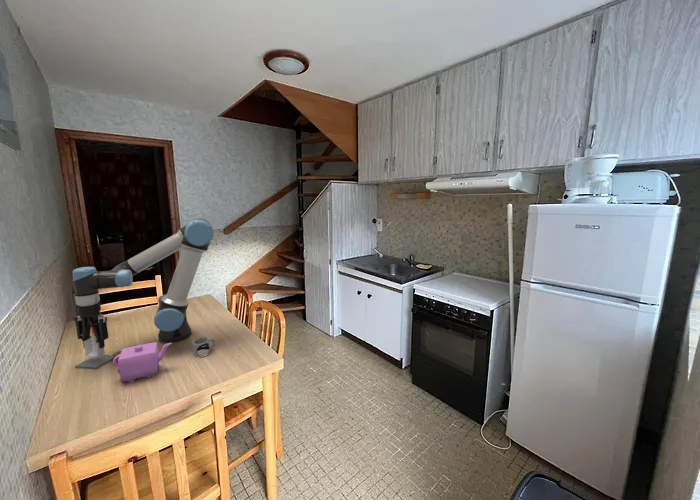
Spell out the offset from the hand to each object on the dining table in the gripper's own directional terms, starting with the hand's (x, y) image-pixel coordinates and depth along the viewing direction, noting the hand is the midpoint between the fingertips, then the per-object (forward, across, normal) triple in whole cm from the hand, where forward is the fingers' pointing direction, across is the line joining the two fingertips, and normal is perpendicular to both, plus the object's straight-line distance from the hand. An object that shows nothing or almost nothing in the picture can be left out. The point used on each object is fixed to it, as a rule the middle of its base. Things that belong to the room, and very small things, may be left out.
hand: (95, 354), depth 128 cm
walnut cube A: (+4, +17, -13) cm, 22 cm away
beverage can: (+4, +21, -21) cm, 30 cm away
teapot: (+4, -28, +5) cm, 29 cm away
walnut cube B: (+4, -10, -2) cm, 11 cm away
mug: (+4, -42, -14) cm, 45 cm away
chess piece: (+1, 0, 0) cm, 1 cm away
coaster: (+4, 0, 0) cm, 4 cm away
